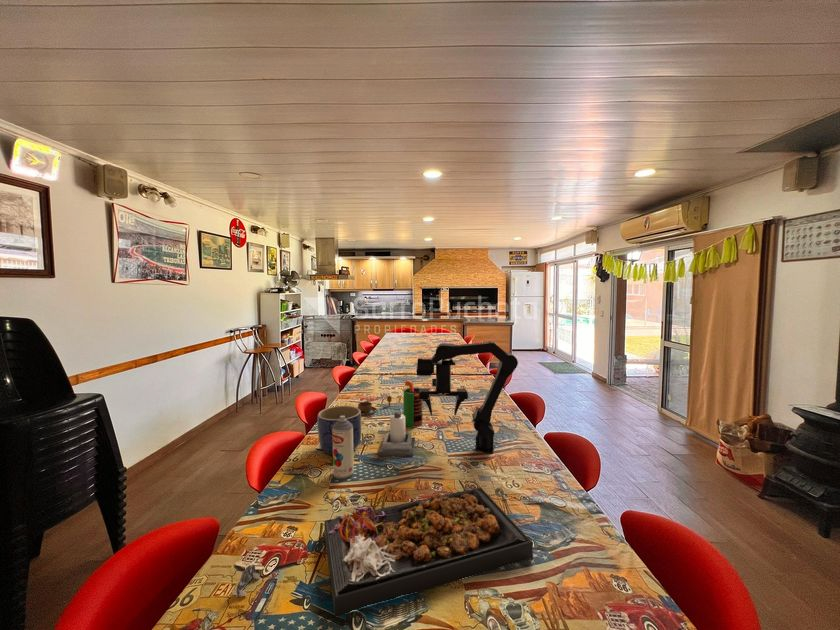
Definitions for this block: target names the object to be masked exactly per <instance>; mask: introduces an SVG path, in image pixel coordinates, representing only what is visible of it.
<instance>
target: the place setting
mask: <svg viewBox="0 0 840 630" xmlns="http://www.w3.org/2000/svg"><path fill="white" fill-rule="evenodd" d="M392 399H393V397H392V396H391V395H388V396H387V397H386V401H387V402H388V406H390V407H391V402H392ZM372 404H373V402H369V401H361V402H359V403H358V404H357V407H356V408H358V409H360V411H361V412H362V413H361V417H365V418H366V417H367V415H368V417H367V418H369V417H370V418H372V417H373V415H374V413H375V414H376V413H377V411H378V409H377V407H376V406H373V405H372ZM373 409H374V410H373ZM371 410H373V411H372V412H371ZM375 410H376V411H375ZM367 418H366V419H367Z"/></svg>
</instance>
